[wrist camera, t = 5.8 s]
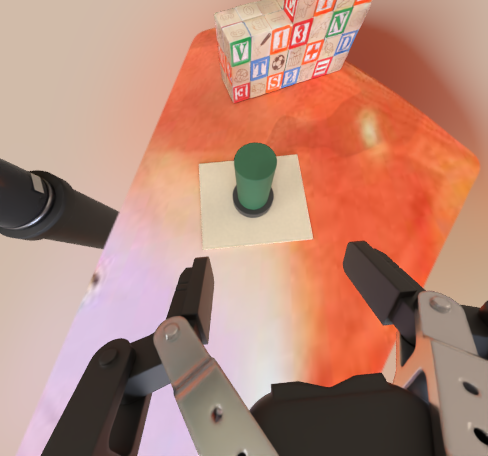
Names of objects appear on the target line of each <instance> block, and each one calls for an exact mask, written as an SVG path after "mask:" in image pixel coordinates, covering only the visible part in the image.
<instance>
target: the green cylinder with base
mask: <svg viewBox="0 0 488 456" xmlns="http://www.w3.org/2000/svg"><path fill="white" fill-rule="evenodd" d="M276 166H277V158H276V155H275V153H274V151H273V150H272V149H271V148H270V147H268V146H267V145H265V144H262V143H249V144H246V145H244V146H243V147H241V148H240V149H239V150H238V151H237V153H236V155H235V158H234V168H235V176H236V184H237V185H236V186H235V188H234V190H233V203H234V206H235V208H236V210H237V211H238V212H239V213H240V214H242V215H243V216H246V217H249V218H257V217H260V216H263V215H264V214H266V213H267V212H268V211H269V209H270V208H271V205H272V203H273V199H274V193H273V190H272V187H271V185H272V182H273V178H274V174H275V170H276Z"/></svg>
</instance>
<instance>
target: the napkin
mask: <svg viewBox="0 0 488 456" xmlns="http://www.w3.org/2000/svg"><path fill="white" fill-rule="evenodd" d="M276 158H277V166H276V170H275V174H274V178H273V182H272V185H271V187H272V190H273V193H274V199H273V203H272V205H271V208H270V209H269V211H268V212H267V213H266V214H264V215H263V216H260V217H257V218H249V217H246V216H243V215H242V214H240V213H239V212H238V211H237V210H236V208H235V206H234V203H233V190H234V188H235V186H236V185H237V184H236V176H235V168H234V161H225V162H214V163H204V164H199V177H200V199H201V221H202V243H203V250H210V249H220V248H230V247H240V246H250V245H260V244H270V243H280V242H290V241H300V240H310V239H313V235H312V230H311V224H310V219H309V214H308V209H307V203H306V198H305V193H304V188H303V182H302V177H301V172H300V167H299V161H298V156H297V154H296V155H286V156H276Z"/></svg>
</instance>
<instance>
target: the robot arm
mask: <svg viewBox="0 0 488 456" xmlns="http://www.w3.org/2000/svg"><path fill="white" fill-rule="evenodd" d="M55 197H56V195H55V189H54V187H53V185H52V184H51V183H50V182H49V181H48V180H46V179H44V178H42V177H40V176H38V175H34V174H32V173H30V172H28V171H26V170H24V169H21V168H19V167H18V166H15V165H13V164H11V163H9V162H7V161H4V160H3V159H0V227H3V228H7V229H12V230H25V229H29V228H31V227H34V226H36V225H37V224H39V223H40V222H42V221H43V220H44V219H45V218H46V217H47V216H48V215H49V213H50V212H51V210H52V208H53V206H54V203H55ZM343 268H344V271H345V273H346V275H347V276H348V277H349V279H350V280H351V282H352V283H353V284H354V286H355V287H356V288H357V290H358V291H359V293H360V294H361V295H362V297H363V298H364V300H365V301H366V302H367V304H368V305H369V307H370V308H371V309H372V311H373V312H374V313H375V315H376V316H377V318H378V319H379V320H380V322H381V323H382V325H391V324H394V326H395V327H396V328H397V329H398V330H397V332H396V374H395V377H394V380H393V384H391V383H388V382H387V381H386V379H385V378H384V376H383V374H382V373H374V374H364V375H355V376H353V377H351V378H349V379H347V380H345V381H343V382H341V383H339V384H337V385H335V386H333V387H323V386H318V385H314V384H309V383H304V382H299V381H297V382H287V383H278V384H271V393H269V394H267V395H265V396H264V397H262V398H261V399H259V400H258V401H257V402H256V403H255V404H254V405H253V406H252V408H251V409H250V410H248V408H247V407H246V405H245V404H244V402H243V401H242V399H241V398H240V396H239V394H238V393H237V391H236V390H235V388H234V387H233V385H232V384H231V382H230V381H229V379H228V378H227V376H226V375H225V373H224V372H223V370H222V369H221V367H220V366H219V364H218V363H217V361H216V360H215V359H214V358H212V357H211V356H210V355H209V353H208V352H207V350H206V349H205V347H204V344H208V339H209V330H210V320H211V310H212V301H213V291H214V277H213V272H212V268H211V264H210V259H209V257H199V258H195V259H194V263H193V267H191V268H186V269H185V270H184V271H183V272H182V274H181V275H180V278H179V281H178V285H177V287H176V291H175V293H174V296H173V299H172V302H171V305H170V309H169V312H168V315H167V318H166V320H165V321H163V322H162V323H161V324H160V325H159V326H158V328H157V329H156V331H155V332H154V333H153V334H151V335H149V336H147V337H144V338H142V339H140V340H137V341H135V342H132V343H129V341H128V340H126V339H122V338H121V339H115V340H112V341H110V342H108V343H107V344H105V345H104V346H103V347H101V348H100V349H99V350H98V351H97V352H96V353H95V355H94V356H93V357H92V359H91V361H90V362H89V364H88V366H87V368H86V370H85V372H84V374H83V376H82V378H81V380H80V381H79V383H78V385H77V387H76V389H75V391H74V393H73V395H72V397H71V399H70V401H69V402H68V404H67V406H66V408H65V410H64V412H63V414H62V416H61V418H60V420H59V422H58V423H57V425H56V427H55V429H54V431H53V433H52V435H51V437H50V439H49V441H48V443H47V444H46V446H45V448H44V450H43V452H42V454H41V456H137V454H138V450H139V446H140V442H141V437H142V433H143V429H144V425H145V421H146V417H147V412H148V408H149V404H150V400H151V396H152V392H154V391H156V390H158V389H160V388H162V387H164V386H166V385H168V384H170V383H171V385H172V387H173V390H174V396H175V399H176V402H177V404H178V407H179V409H180V411H181V414H182V416H183V419H184V421H185V423H186V426H187V428H188V431H189V433H190V435H191V438H192V440H193V443H194V445H195V448H196V450H197V452H198V455H199V456H488V301H487V302H485V304H484V305H483V306H482V307H481V308H477V307H472V306H465V305H459V304H458V303H457V302H456V301H454V300H453V299H451V298H450V297H447V296H446V295H443V294H441V293H438V292H434V291H426V290H424V289H423V288H422V287H421V286H420V285H419V284H418V283H417V282H416V281H415V280H413V279H412V278H411V277H410V276H409V275H408V274H407V273H406V272H405V271H403V270H402V269H401V268H399V266H398V265H397V264H396V263H395V262H393V261H392V260H391V259H390V258H389V257H388V256H387V255H386V254H384V253H382V252H381V251H379V250H377V249H373V248H372V247H371V246H370V245H369V244H368V243H367V242H366V241H355V242H349V243H348V245H347V249H346V253H345V257H344V261H343Z"/></svg>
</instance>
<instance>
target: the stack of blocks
mask: <svg viewBox="0 0 488 456" xmlns="http://www.w3.org/2000/svg"><path fill="white" fill-rule="evenodd" d="M371 3H372V0H260V1H257V2H252V3H248V4H245V5H241V6H238V7H235V8H232V9H228V10H224V11H221V12H218V13H215V14H214V17H215V24H216V25H215V26H216V34H217V45H218V53H219V60H220V67H221V74H222V80H223V82H224V84H225V86H226V88H227V90H228V93H229V95H230V97H231V99H232V101H233V103H237V102H240V101H242V100H246V99H249V98H253V97H256V96H260V95H263V94H265V93H269V92H272V91H275V90H278V89H280V88H284V87H287V86H290V85H293V84H295V83H299V82H302V81H305V80H308V79H312V78H316V77H319V76H322V75H325V74H329V73H332V72H335V71H338V70H340V69H341V68H342V66H343V63H344V61H345V59H346V57H347V55H348V52H349V50H350V48H351V45H352V43H353V41H354V39H355V37H356V35H357V33H358V30H359V28H360V27H361V24H362V23H363V21H364V18H365V16H366V14H367V12H368V10H369V8H370V5H371Z"/></svg>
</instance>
